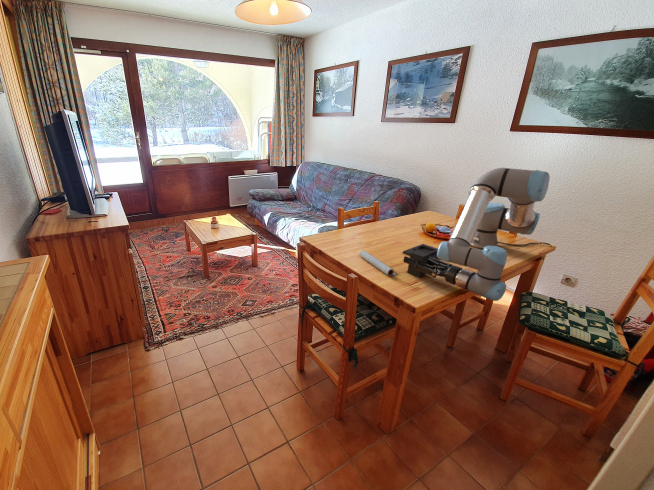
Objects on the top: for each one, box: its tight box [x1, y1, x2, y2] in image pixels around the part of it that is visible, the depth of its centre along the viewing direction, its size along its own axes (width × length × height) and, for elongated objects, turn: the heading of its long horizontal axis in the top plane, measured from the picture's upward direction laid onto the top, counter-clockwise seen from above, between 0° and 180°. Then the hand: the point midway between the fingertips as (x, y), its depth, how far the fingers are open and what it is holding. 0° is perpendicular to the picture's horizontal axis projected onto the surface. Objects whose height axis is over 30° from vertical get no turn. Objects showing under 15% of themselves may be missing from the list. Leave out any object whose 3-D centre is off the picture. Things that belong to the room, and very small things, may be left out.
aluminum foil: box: [359, 250, 398, 277], centre depth 147 cm, size 23×7×3 cm, turn 19°
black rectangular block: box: [407, 250, 430, 278], centre depth 138 cm, size 5×6×10 cm
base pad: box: [402, 243, 439, 259], centre depth 160 cm, size 18×14×3 cm
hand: (408, 257), depth 142 cm, fingers open, 5 cm apart
